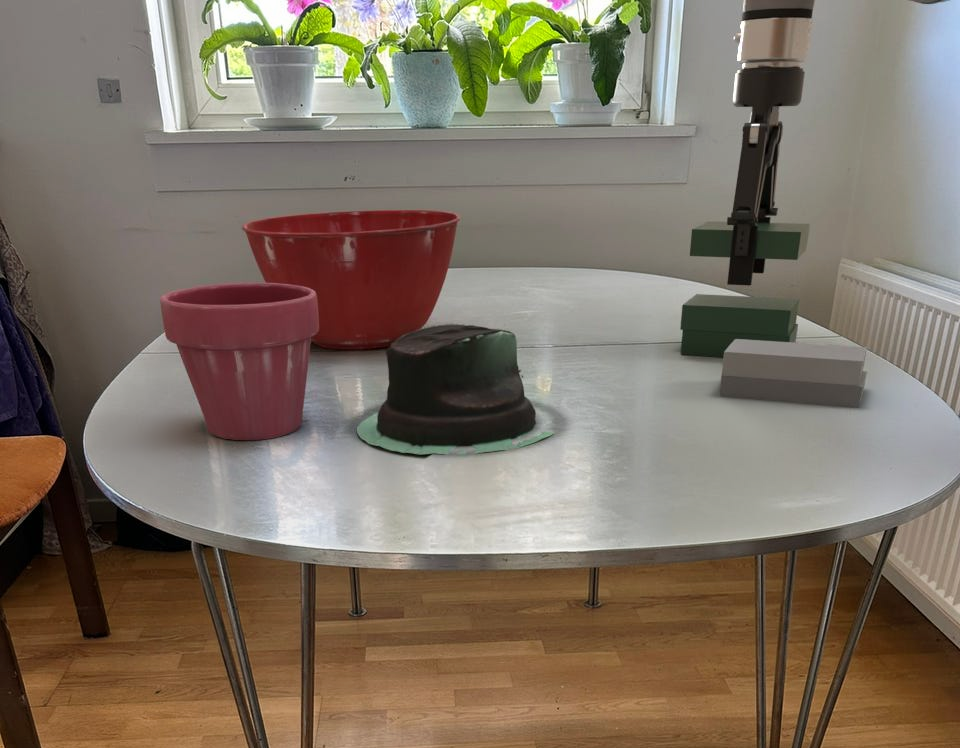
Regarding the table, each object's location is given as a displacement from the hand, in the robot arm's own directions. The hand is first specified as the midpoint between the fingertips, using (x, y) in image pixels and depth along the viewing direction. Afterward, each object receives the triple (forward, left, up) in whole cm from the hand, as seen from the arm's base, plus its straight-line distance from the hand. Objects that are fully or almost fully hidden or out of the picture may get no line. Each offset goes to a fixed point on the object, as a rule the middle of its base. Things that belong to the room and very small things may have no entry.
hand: (746, 278), depth 117 cm
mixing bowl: (+50, +9, -9) cm, 52 cm away
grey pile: (-9, +21, -9) cm, 24 cm away
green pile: (0, 0, -9) cm, 9 cm away
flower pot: (+39, +50, -9) cm, 64 cm away
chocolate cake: (+20, +43, -9) cm, 48 cm away
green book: (0, 0, +3) cm, 3 cm away
